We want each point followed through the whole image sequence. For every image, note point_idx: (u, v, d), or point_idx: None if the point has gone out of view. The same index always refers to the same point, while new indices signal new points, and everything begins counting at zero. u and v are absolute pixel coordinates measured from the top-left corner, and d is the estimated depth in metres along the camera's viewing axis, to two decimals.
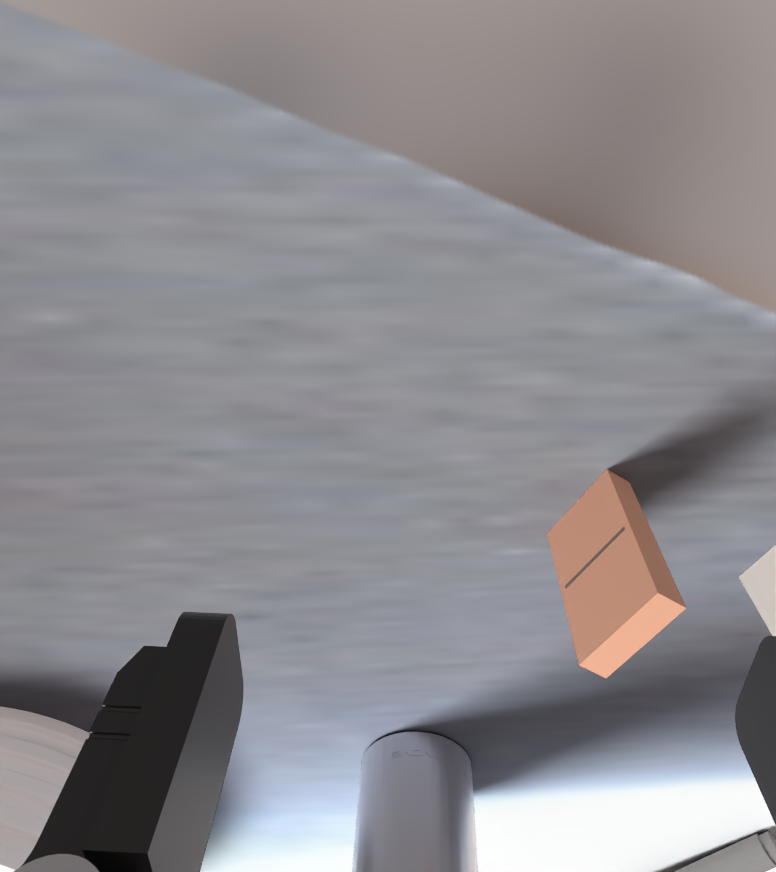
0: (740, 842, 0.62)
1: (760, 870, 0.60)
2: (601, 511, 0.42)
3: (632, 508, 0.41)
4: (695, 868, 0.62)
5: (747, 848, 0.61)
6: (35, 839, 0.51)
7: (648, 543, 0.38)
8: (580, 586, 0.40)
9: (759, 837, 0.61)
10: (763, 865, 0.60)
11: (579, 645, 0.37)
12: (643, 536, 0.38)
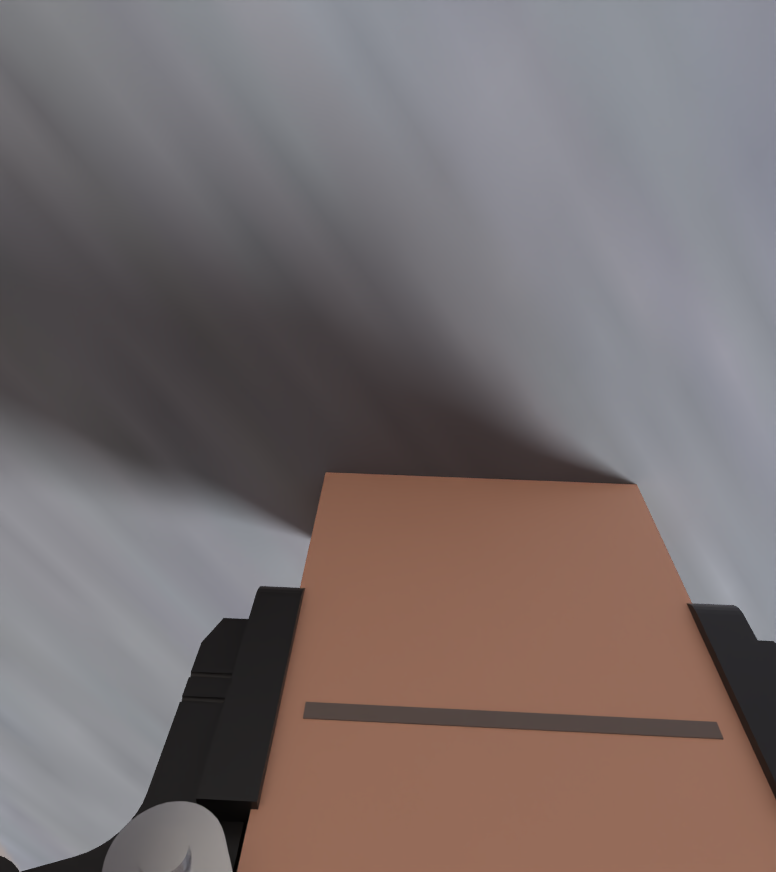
0: None
1: None
2: None
3: None
4: None
5: None
6: None
7: None
8: None
9: None
10: None
11: None
12: None
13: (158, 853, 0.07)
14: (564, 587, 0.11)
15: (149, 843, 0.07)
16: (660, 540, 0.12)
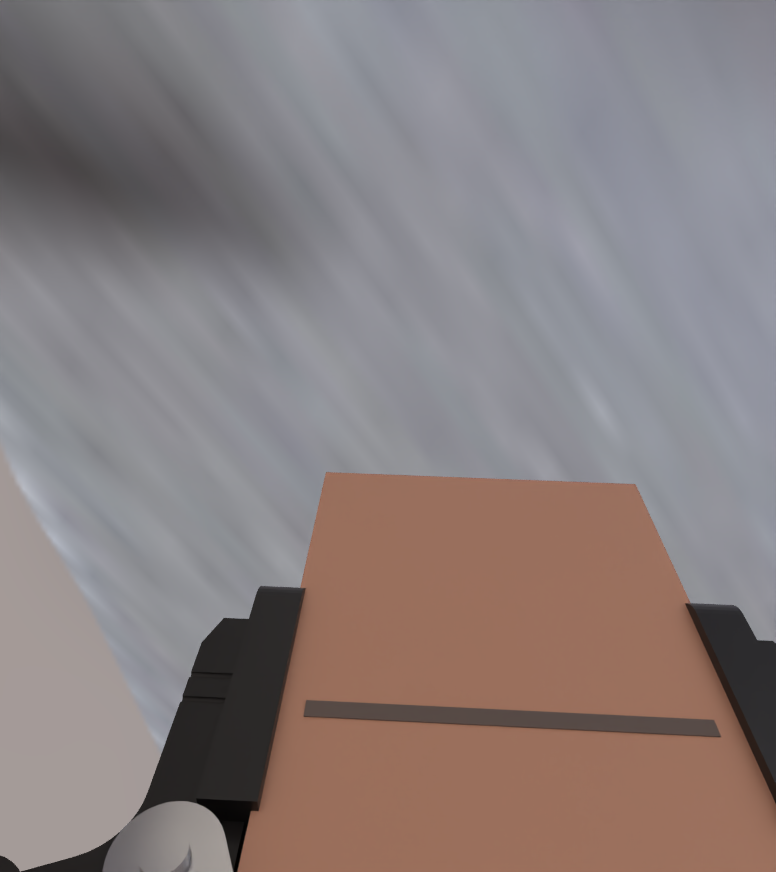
0: None
1: None
2: None
3: None
4: None
5: None
6: None
7: None
8: None
9: None
10: None
11: None
12: None
13: (158, 853, 0.07)
14: (563, 586, 0.11)
15: (149, 843, 0.07)
16: (658, 539, 0.12)
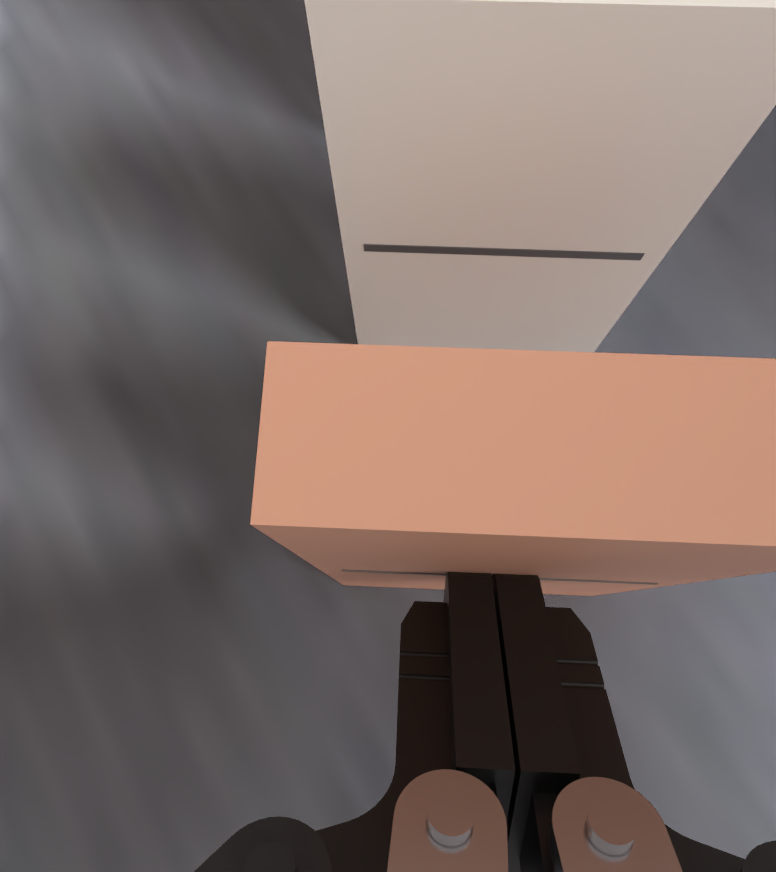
0: None
1: None
2: (403, 581, 0.14)
3: None
4: None
5: None
6: None
7: None
8: (603, 577, 0.11)
9: None
10: None
11: None
12: None
13: (446, 813, 0.07)
14: None
15: (434, 807, 0.07)
16: None
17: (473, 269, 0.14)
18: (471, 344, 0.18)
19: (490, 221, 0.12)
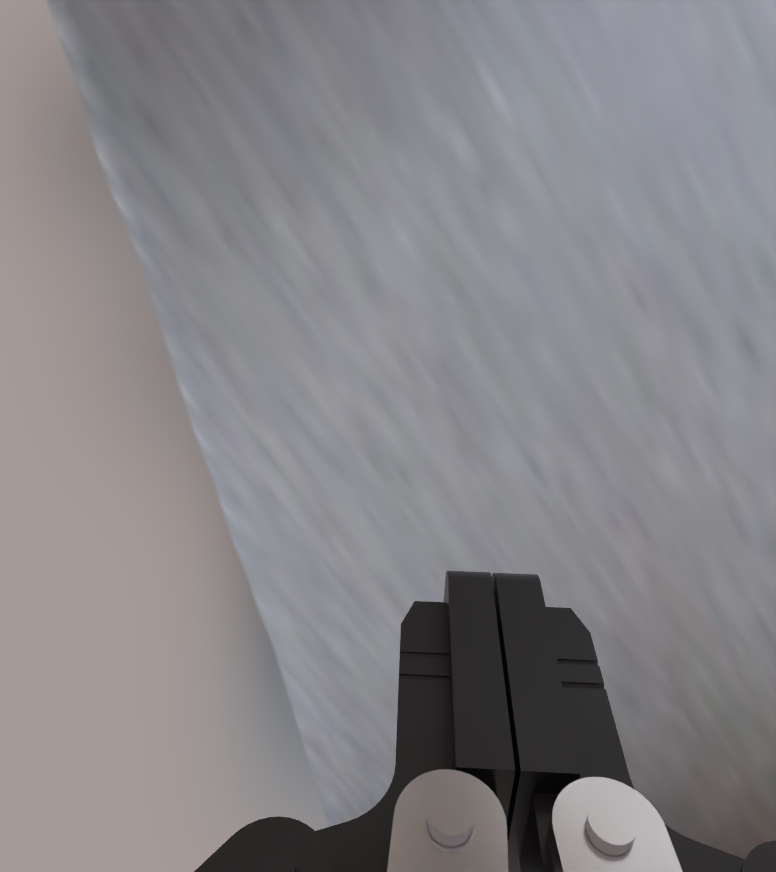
0: None
1: None
2: None
3: None
4: None
5: None
6: None
7: None
8: None
9: None
10: None
11: None
12: None
13: (446, 814, 0.07)
14: None
15: (434, 806, 0.07)
16: None
17: None
18: None
19: None
